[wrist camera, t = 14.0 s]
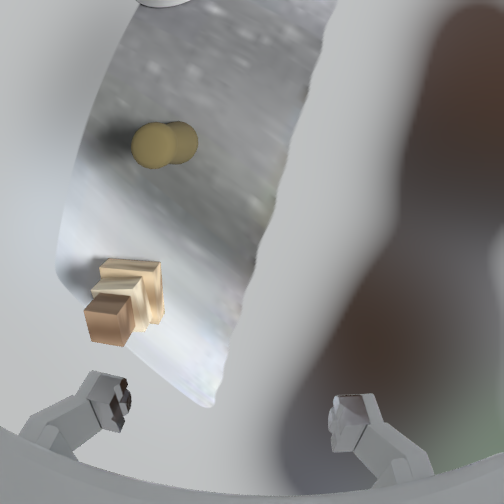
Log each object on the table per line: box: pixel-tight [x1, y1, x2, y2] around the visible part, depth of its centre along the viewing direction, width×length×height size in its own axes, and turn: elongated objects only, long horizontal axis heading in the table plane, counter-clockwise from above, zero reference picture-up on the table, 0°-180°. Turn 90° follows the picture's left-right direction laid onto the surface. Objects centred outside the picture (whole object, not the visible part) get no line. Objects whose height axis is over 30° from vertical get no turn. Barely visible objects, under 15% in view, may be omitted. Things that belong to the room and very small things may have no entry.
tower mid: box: [91, 276, 153, 332], centre depth 43 cm, size 7×7×4 cm
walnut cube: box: [84, 293, 135, 347], centre depth 39 cm, size 5×5×5 cm
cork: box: [131, 121, 198, 169], centre depth 35 cm, size 6×6×11 cm
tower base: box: [99, 258, 165, 324], centre depth 47 cm, size 9×9×4 cm
